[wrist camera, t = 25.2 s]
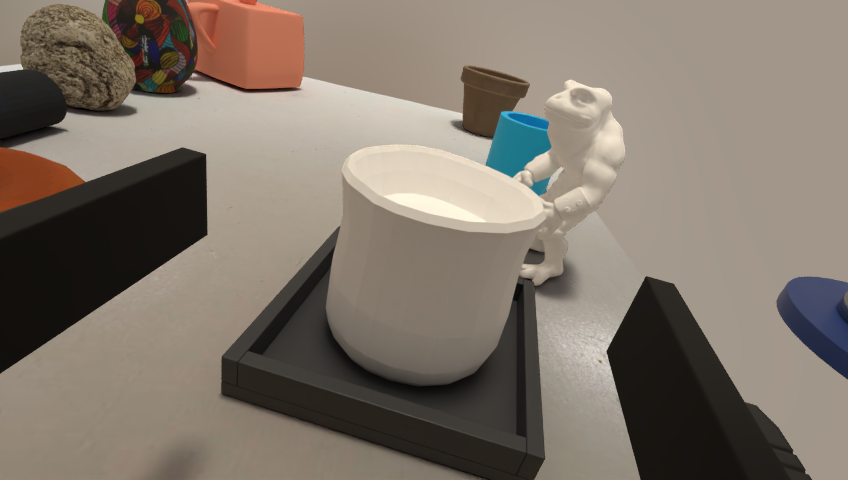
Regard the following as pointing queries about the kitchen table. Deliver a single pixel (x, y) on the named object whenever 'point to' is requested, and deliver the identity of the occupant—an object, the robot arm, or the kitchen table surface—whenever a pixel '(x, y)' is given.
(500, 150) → the mug
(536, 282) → the figurine
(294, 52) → the teapot
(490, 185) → the cup
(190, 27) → the egg
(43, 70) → the stone
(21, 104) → the pipe connector
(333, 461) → the kitchen table surface
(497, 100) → the flower pot
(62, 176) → the donut
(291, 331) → the tray
